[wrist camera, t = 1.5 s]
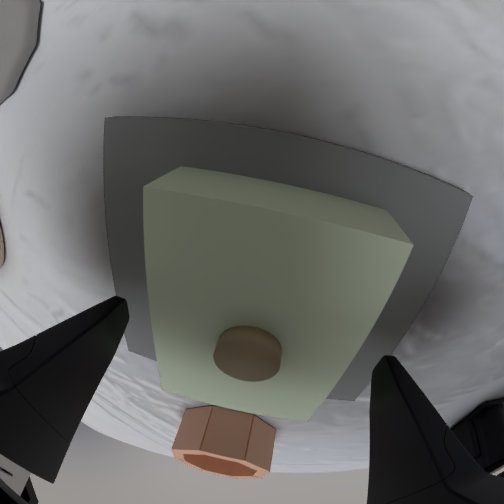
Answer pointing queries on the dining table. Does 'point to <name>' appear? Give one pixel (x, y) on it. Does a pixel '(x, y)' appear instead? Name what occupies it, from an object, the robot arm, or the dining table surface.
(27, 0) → the flask
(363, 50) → the dining table surface
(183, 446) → the bowl
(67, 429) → the robot arm
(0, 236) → the teacup with lid
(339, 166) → the mat
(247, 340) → the lid
